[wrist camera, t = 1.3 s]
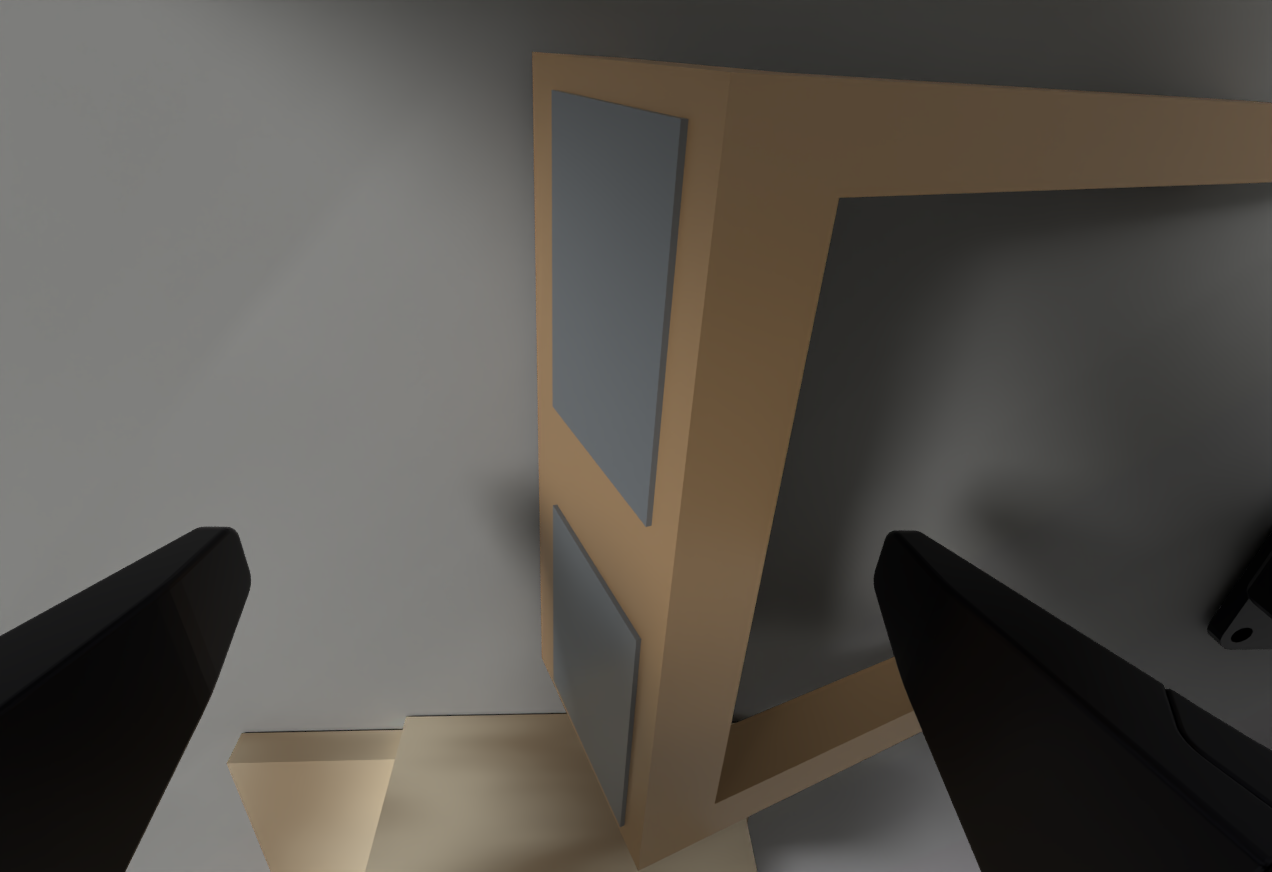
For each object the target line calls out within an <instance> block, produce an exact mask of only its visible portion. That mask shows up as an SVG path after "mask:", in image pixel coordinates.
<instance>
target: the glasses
mask: <svg viewBox="0 0 1272 872" xmlns="http://www.w3.org/2000/svg"><path fill="white" fill-rule="evenodd" d="M532 71H533V134H534V197H535V260H536V322H537V385H538V448H539V511H540V573H541V636H542V659H543V661H544V663H545V666H546V668H547V670H548V672H549V674H550V677H551V679H552V681H553V683H554V686H555V688H556V690H557V692H558V694H559V697H560V699H561V701H562V703H563V706H564V708H565V710H566V712H567V714H568V717H569V719H570V721H571V723H572V726H573V728H574V730H575V732H576V734H577V737H578V739H579V741H580V743H581V746H582V748H583V750H584V752H585V754H586V757H587V759H588V761H589V763H590V766H591V768H592V770H593V772H594V774H595V777H596V779H597V781H598V783H599V786H600V788H601V790H602V792H603V794H604V797H605V799H606V801H607V803H608V806H609V808H610V810H611V812H612V814H613V817H614V819H615V821H616V823H617V826H618V828H619V830H620V832H621V834H622V837H623V839H624V841H625V843H626V845H627V848H628V850H629V852H630V854H631V857H632V859H633V861H634V863H635V865H636V868H637V870H638V871H639V870H641V869H643V868H645V867H647V866H649V865H651V864H653V863H655V862H657V861H660V860H662V859H664V858H666V857H668V856H670V855H672V854H674V853H676V852H678V851H680V850H682V849H684V848H686V847H688V846H690V845H692V844H694V843H696V842H698V841H700V840H702V839H704V838H706V837H708V836H710V835H712V834H714V833H716V832H719V831H721V830H723V829H725V828H727V827H729V826H731V825H733V824H735V823H737V822H739V821H741V820H743V819H745V818H747V817H749V816H751V815H753V814H755V813H757V812H759V811H761V810H763V809H765V808H767V807H769V806H771V805H773V804H775V803H777V802H780V801H782V800H784V799H786V798H788V797H790V796H792V795H794V794H796V793H798V792H800V791H802V790H804V789H806V788H808V787H810V786H812V785H814V784H816V783H818V782H820V781H822V780H824V779H826V778H828V777H830V776H832V775H834V774H836V773H839V772H841V771H843V770H845V769H847V768H849V767H851V766H853V765H855V764H857V763H859V762H861V761H863V760H865V759H867V758H869V757H871V756H873V755H875V754H877V753H879V752H881V751H883V750H885V749H887V748H889V747H891V746H893V745H895V744H898V743H900V742H902V741H904V740H906V739H908V738H910V737H912V736H914V735H916V734H918V733H920V732H922V729H921V727H920V725H919V722H918V720H917V717H916V715H915V713H914V710H913V708H912V705H911V703H910V701H909V698H908V696H907V693H906V690H905V688H904V685H903V682H902V679H901V676H900V673H899V670H898V667H897V664H896V660H895V657H892V658H890V659H888V660H885V661H883V662H880V663H878V664H876V665H873V666H871V667H869V668H866V669H864V670H861V671H859V672H857V673H854V674H852V675H849V676H847V677H845V678H842V679H840V680H837V681H835V682H833V683H830V684H828V685H825V686H823V687H821V688H818V689H816V690H814V691H811V692H809V693H806V694H804V695H802V696H799V697H797V698H794V699H792V700H790V701H787V702H785V703H782V704H780V705H778V706H775V707H773V708H771V709H768V710H766V711H763V712H761V713H759V714H756V715H754V716H751V717H749V718H747V719H744V720H742V721H739V722H737V723H735V724H732V725H731V722H732V717H733V712H734V707H735V702H736V698H737V693H738V688H739V683H740V678H741V673H742V668H743V664H744V659H745V654H746V649H747V644H748V639H749V634H750V630H751V625H752V620H753V615H754V610H755V605H756V600H757V595H758V591H759V586H760V581H761V576H762V571H763V566H764V561H765V557H766V552H767V547H768V542H769V537H770V532H771V527H772V523H773V518H774V513H775V508H776V503H777V498H778V493H779V489H780V484H781V479H782V474H783V469H784V464H785V459H786V455H787V450H788V445H789V440H790V435H791V430H792V425H793V421H794V416H795V411H796V406H797V401H798V396H799V391H800V387H801V382H802V377H803V372H804V367H805V362H806V357H807V353H808V348H809V343H810V338H811V333H812V328H813V323H814V319H815V314H816V309H817V304H818V299H819V294H820V289H821V284H822V280H823V275H824V270H825V265H826V260H827V255H828V250H829V246H830V241H831V236H832V231H833V226H834V221H835V216H836V212H837V207H838V202H839V198H849V197H877V196H905V195H932V194H960V193H988V192H1016V191H1044V190H1071V189H1099V188H1127V187H1155V186H1183V185H1211V184H1238V183H1266V182H1272V103H1269V102H1256V101H1244V100H1227V99H1211V98H1194V97H1178V96H1161V95H1145V94H1129V93H1112V92H1096V91H1079V90H1063V89H1046V88H1030V87H1013V86H997V85H981V84H964V83H948V82H931V81H915V80H898V79H882V78H865V77H849V76H833V75H816V74H800V73H783V72H772V71H761V70H750V69H740V68H729V67H718V66H707V65H697V64H686V63H675V62H664V61H654V60H643V59H632V58H620V57H605V56H589V55H574V54H558V53H542V52H532Z"/></svg>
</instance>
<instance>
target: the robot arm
mask: <svg viewBox="0 0 1272 872" xmlns="http://www.w3.org/2000/svg"><path fill="white" fill-rule="evenodd" d="M250 586H251V575H250V570H249V567H248V564H247V561H246V557H245V554H244V551H243V548H242V544H241V541H240V538H239V535H238V533H237V532H236V531H235V530H234V529H233V528H230V527H199V528H196V529H194V530H192V531H191V532H189V533H187V534H185V535H183V536H182V537H180V538H178V539H176V540H174V541H172V542H171V543H169V544H167V545H165V546H163V547H161V548H160V549H158V550H156V551H154V552H152V553H151V554H149V555H147V556H145V557H143V558H141V559H140V560H138V561H136V562H134V563H132V564H130V565H129V566H127V567H125V568H123V569H121V570H120V571H118V572H116V573H114V574H112V575H110V576H109V577H107V578H105V579H103V580H101V581H99V582H98V583H96V584H94V585H92V586H90V587H89V588H87V589H85V590H83V591H81V592H79V593H78V594H76V595H74V596H72V597H70V598H69V599H67V600H65V601H63V602H61V603H59V604H58V605H56V606H54V607H52V608H50V609H48V610H47V611H45V612H43V613H41V614H39V615H38V616H36V617H34V618H32V619H30V620H28V621H27V622H25V623H23V624H21V625H19V626H17V627H16V628H14V629H12V630H10V631H8V632H7V633H5V634H3V635H1V636H0V872H125V871H126V869H127V867H128V865H129V863H130V861H131V859H132V857H133V855H134V853H135V851H136V849H137V847H138V845H139V843H140V841H141V839H142V837H143V835H144V833H145V831H146V829H147V827H148V825H149V822H150V820H151V818H152V816H153V814H154V812H155V810H156V808H157V806H158V804H159V802H160V800H161V798H162V796H163V794H164V792H165V790H166V788H167V786H168V784H169V782H170V780H171V778H172V776H173V774H174V772H175V770H176V768H177V765H178V763H179V761H180V759H181V757H182V755H183V753H184V751H185V749H186V747H187V745H188V743H189V741H190V739H191V737H192V735H193V733H194V731H195V729H196V727H197V725H198V723H199V721H200V719H201V717H202V715H203V712H204V710H205V708H206V706H207V704H208V702H209V699H210V697H211V695H212V693H213V690H214V688H215V685H216V682H217V680H218V677H219V675H220V672H221V669H222V666H223V663H224V661H225V658H226V655H227V652H228V650H229V647H230V644H231V641H232V638H233V636H234V633H235V630H236V627H237V625H238V622H239V619H240V616H241V613H242V611H243V608H244V605H245V602H246V599H247V597H248V594H249V591H250ZM874 589H875V593H876V596H877V600H878V603H879V606H880V610H881V613H882V617H883V620H884V623H885V627H886V630H887V633H888V637H889V640H890V644H891V647H892V650H893V654H894V657H895V660H896V664H897V667H898V670H899V673H900V676H901V679H902V682H903V685H904V688H905V690H906V693H907V696H908V698H909V701H910V703H911V705H912V708H913V710H914V713H915V715H916V717H917V720H918V722H919V725H920V727H921V729H922V732H923V734H924V736H925V739H926V741H927V744H928V746H929V748H930V751H931V753H932V756H933V758H934V760H935V763H936V765H937V767H938V770H939V772H940V775H941V777H942V779H943V782H944V784H945V787H946V789H947V791H948V794H949V796H950V798H951V801H952V803H953V806H954V808H955V810H956V813H957V815H958V817H959V820H960V822H961V825H962V827H963V829H964V832H965V834H966V837H967V839H968V841H969V844H970V846H971V848H972V851H973V853H974V856H975V858H976V860H977V863H978V865H979V868H980V870H981V872H1272V751H1271V750H1270V749H1268V748H1266V747H1264V746H1263V745H1261V744H1259V743H1257V742H1256V741H1254V740H1252V739H1251V738H1249V737H1247V736H1246V735H1244V734H1242V733H1241V732H1239V731H1238V730H1236V729H1234V728H1233V727H1231V726H1229V725H1228V724H1226V723H1224V722H1223V721H1221V720H1220V719H1218V718H1216V717H1215V716H1213V715H1211V714H1210V713H1208V712H1206V711H1205V710H1203V709H1201V708H1200V707H1198V706H1197V705H1195V704H1194V703H1192V702H1190V701H1189V700H1187V699H1186V698H1184V697H1183V696H1181V695H1179V694H1178V693H1176V692H1175V691H1173V690H1171V689H1165V687H1164V685H1163V684H1162V683H1160V682H1159V681H1157V680H1155V679H1154V678H1152V677H1151V676H1149V675H1147V674H1146V673H1144V672H1143V671H1141V670H1139V669H1138V668H1136V667H1135V666H1133V665H1131V664H1130V663H1128V662H1127V661H1125V660H1124V659H1122V658H1120V657H1119V656H1117V655H1116V654H1114V653H1112V652H1111V651H1109V650H1108V649H1106V648H1104V647H1103V646H1101V645H1100V644H1098V643H1096V642H1095V641H1093V640H1092V639H1090V638H1089V637H1087V636H1085V635H1084V634H1082V633H1081V632H1079V631H1077V630H1076V629H1074V628H1073V627H1071V626H1069V625H1068V624H1066V623H1065V622H1063V621H1061V620H1060V619H1058V618H1057V617H1055V616H1054V615H1052V614H1050V613H1049V612H1047V611H1046V610H1044V609H1042V608H1041V607H1039V606H1038V605H1036V604H1034V603H1033V602H1031V601H1030V600H1028V599H1026V598H1025V597H1023V596H1022V595H1020V594H1018V593H1017V592H1015V591H1014V590H1012V589H1011V588H1009V587H1007V586H1006V585H1004V584H1003V583H1001V582H999V581H998V580H996V579H995V578H993V577H991V576H990V575H988V574H987V573H985V572H983V571H982V570H980V569H979V568H977V567H976V566H974V565H972V564H971V563H969V562H968V561H966V560H964V559H963V558H961V557H960V556H958V555H956V554H955V553H953V552H952V551H950V550H948V549H947V548H945V547H944V546H942V545H941V544H939V543H937V542H936V541H934V540H933V539H931V538H929V537H928V536H926V535H925V534H923V533H921V532H919V531H906V530H895V531H892V532H890V533H888V535H887V536H886V538H885V541H884V544H883V547H882V550H881V553H880V557H879V560H878V563H877V566H876V569H875V573H874ZM1207 631H1208V634H1209V635H1210V636H1212V637H1213V638H1214V639H1215V640H1216V641H1217V642H1218V643H1219V644H1220V645H1221V646H1222V647H1224V648H1225V649H1231V650H1232V649H1272V533H1271V534H1270V535H1269V537H1268V538H1267V540H1266V541H1265V543H1264V544H1263V546H1262V547H1261V549H1260V550H1259V551H1258V553H1257V554H1256V556H1255V557H1254V559H1253V560H1252V562H1251V563H1250V565H1249V566H1248V567H1247V569H1246V570H1245V572H1244V573H1243V575H1242V576H1241V578H1240V579H1239V581H1238V582H1237V583H1236V585H1235V586H1234V588H1233V589H1232V591H1231V592H1230V594H1229V595H1228V597H1227V598H1226V600H1225V601H1224V602H1223V604H1222V605H1221V607H1220V608H1219V610H1218V611H1217V613H1216V614H1215V616H1214V617H1213V618H1212V620H1211V621H1210V623H1209V625H1208V627H1207Z"/></svg>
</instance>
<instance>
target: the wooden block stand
mask: <svg viewBox="0 0 1272 872" xmlns="http://www.w3.org/2000/svg"><path fill="white" fill-rule="evenodd" d="M732 724H735V723H731V725H732ZM227 765H228V768H229V770H230V773H231V775H232V778H233V780H234V782H235V785H236V787H237V790H238V792H239V795H240V797H241V800H242V802H243V805H244V807H245V810H246V812H247V814H248V817H249V819H250V822H251V824H252V827H253V829H254V832H255V834H256V837H257V839H258V841H259V844H260V846H261V849H262V851H263V854H264V856H265V859H266V861H267V864H268V866H269V869H270V871H271V872H757V867H756V863H755V858H754V853H753V848H752V844H751V839H750V834H749V829H748V825H747V822H748V818H749V817H747V818H745V819H743V820H741V821H739V822H737V823H735V824H733V825H731V826H729V827H727V828H725V829H723V830H721V831H719V832H716V833H714V834H712V835H710V836H708V837H706V838H704V839H702V840H700V841H698V842H696V843H694V844H692V845H690V846H688V847H686V848H684V849H682V850H680V851H678V852H676V853H674V854H672V855H670V856H668V857H666V858H664V859H662V860H660V861H657V862H655V863H653V864H651V865H649V866H647V867H645V868H643V869H641V870H639V871H638V870H637V868H636V865H635V863H634V861H633V859H632V857H631V854H630V852H629V850H628V848H627V845H626V843H625V841H624V839H623V837H622V834H621V832H620V830H619V828H618V826H617V823H616V821H615V819H614V817H613V814H612V812H611V810H610V808H609V806H608V803H607V801H606V799H605V797H604V794H603V792H602V790H601V788H600V786H599V783H598V781H597V779H596V777H595V774H594V772H593V770H592V768H591V766H590V763H589V761H588V759H587V757H586V754H585V752H584V750H583V748H582V746H581V743H580V741H579V739H578V737H577V734H576V732H575V730H574V728H573V726H572V723H571V721H570V719H569V717H568V714H531V715H478V716H425V717H406V719H405V723H404V727H403V730H373V731H325V732H277V733H242V734H241V736H240V738H239V740H238V742H237V744H236V746H235V748H234V750H233V752H232V754H231V756H230V758H229V760H228V762H227Z"/></svg>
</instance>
